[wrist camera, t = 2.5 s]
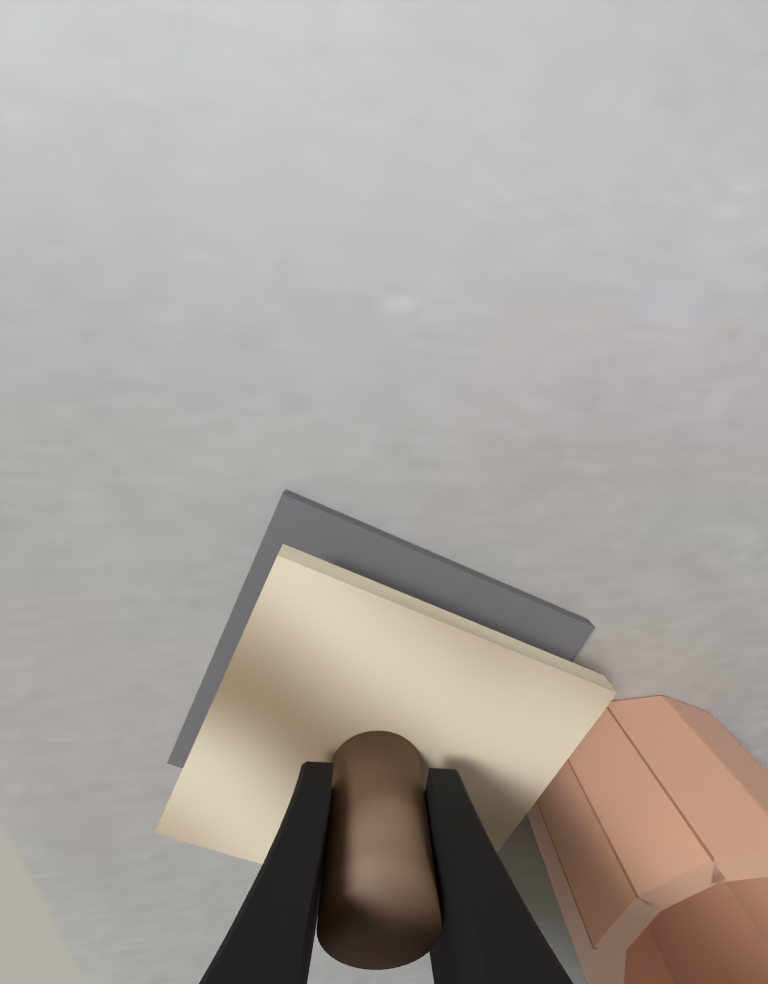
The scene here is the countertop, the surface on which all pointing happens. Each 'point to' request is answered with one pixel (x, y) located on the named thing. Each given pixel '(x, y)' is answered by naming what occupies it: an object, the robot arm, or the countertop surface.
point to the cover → (374, 743)
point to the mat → (393, 568)
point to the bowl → (660, 848)
